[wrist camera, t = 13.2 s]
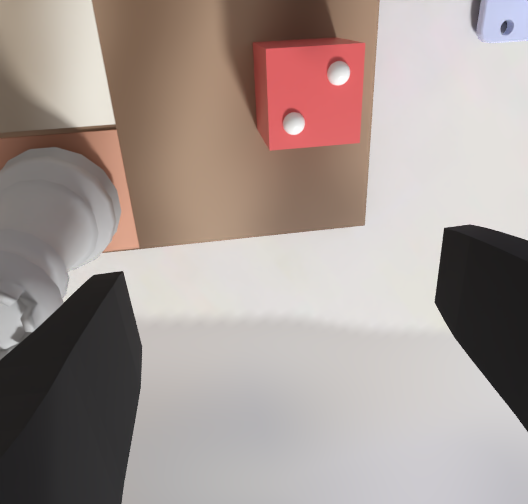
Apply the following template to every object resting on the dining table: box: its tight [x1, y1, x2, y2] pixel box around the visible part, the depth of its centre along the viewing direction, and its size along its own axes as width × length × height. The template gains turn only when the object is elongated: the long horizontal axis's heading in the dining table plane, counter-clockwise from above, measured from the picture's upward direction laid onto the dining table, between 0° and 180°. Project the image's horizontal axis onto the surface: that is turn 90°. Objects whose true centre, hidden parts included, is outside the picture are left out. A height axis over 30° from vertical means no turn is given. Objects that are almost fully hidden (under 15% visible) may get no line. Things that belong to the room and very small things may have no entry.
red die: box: [253, 37, 365, 151], centre depth 15 cm, size 3×3×3 cm
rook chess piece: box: [0, 147, 121, 360], centre depth 14 cm, size 4×4×8 cm
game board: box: [0, 0, 380, 253], centre depth 17 cm, size 18×10×1 cm, turn 93°
